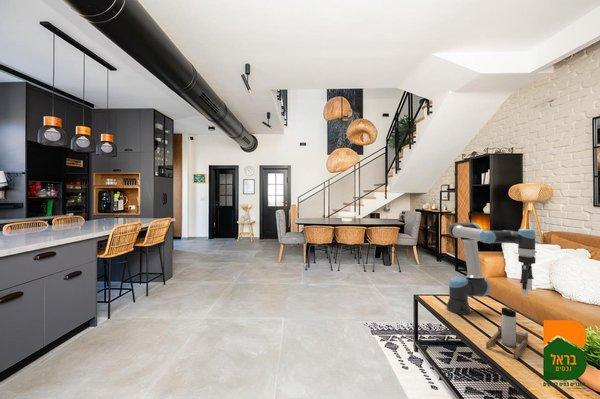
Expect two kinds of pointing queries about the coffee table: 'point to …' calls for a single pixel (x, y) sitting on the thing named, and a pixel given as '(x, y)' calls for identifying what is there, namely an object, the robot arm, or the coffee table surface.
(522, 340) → the bay
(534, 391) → the coffee table surface
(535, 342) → the coffee table surface
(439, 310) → the coffee table surface
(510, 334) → the travel mug
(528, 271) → the robot arm
